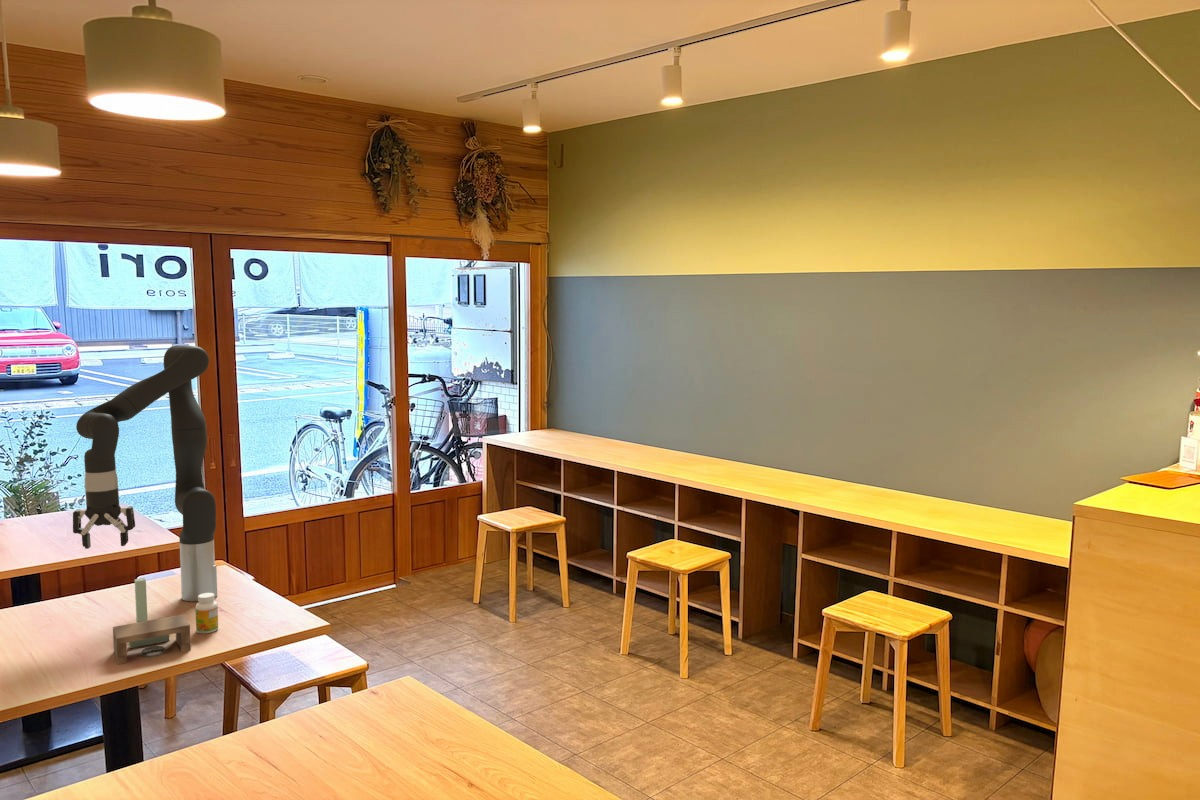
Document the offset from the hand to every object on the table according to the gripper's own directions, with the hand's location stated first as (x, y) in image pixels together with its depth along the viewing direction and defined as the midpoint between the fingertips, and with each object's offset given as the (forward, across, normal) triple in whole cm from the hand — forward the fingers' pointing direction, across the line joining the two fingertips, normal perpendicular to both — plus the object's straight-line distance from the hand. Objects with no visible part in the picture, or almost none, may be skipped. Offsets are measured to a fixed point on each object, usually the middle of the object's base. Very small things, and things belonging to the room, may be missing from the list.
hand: (105, 546), depth 222 cm
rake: (+22, -10, +9) cm, 26 cm away
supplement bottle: (+23, -26, +9) cm, 35 cm away
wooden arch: (+22, -15, +21) cm, 34 cm away
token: (+22, -16, +22) cm, 35 cm away
